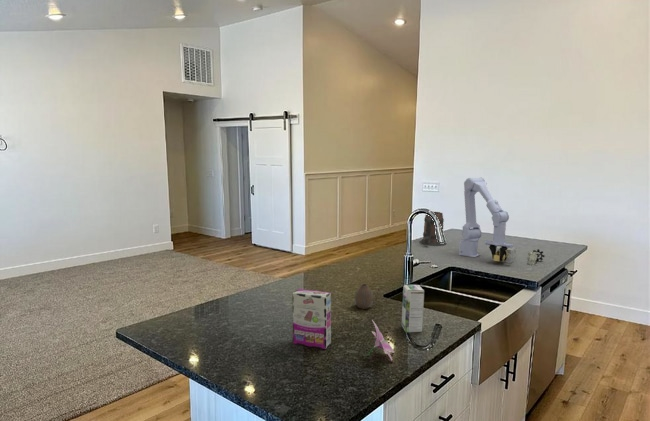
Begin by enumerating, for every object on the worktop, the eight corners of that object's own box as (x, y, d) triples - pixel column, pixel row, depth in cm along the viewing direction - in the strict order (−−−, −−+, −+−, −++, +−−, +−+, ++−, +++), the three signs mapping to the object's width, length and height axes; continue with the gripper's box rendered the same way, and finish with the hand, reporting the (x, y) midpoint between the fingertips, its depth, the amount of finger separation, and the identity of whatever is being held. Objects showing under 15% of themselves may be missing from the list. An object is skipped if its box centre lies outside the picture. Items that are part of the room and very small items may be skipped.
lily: (379, 375, 116) (398, 346, 115) (346, 348, 122) (363, 320, 121) (394, 370, 127) (410, 342, 126) (363, 345, 132) (378, 318, 132)
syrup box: (401, 325, 146) (402, 284, 144) (418, 325, 147) (419, 284, 145) (405, 332, 141) (406, 290, 139) (423, 332, 141) (424, 289, 139)
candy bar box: (331, 343, 133) (332, 292, 131) (326, 350, 129) (326, 297, 126) (298, 337, 137) (298, 287, 135) (292, 343, 133) (291, 292, 130)
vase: (367, 311, 159) (368, 288, 158) (351, 307, 163) (351, 285, 162) (375, 305, 165) (376, 283, 164) (359, 302, 169) (360, 280, 167)
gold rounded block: (490, 262, 226) (491, 252, 226) (498, 258, 235) (498, 248, 234) (501, 264, 223) (502, 253, 222) (508, 260, 231) (509, 249, 231)
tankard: (424, 239, 287) (425, 209, 284) (449, 242, 279) (451, 211, 276) (412, 246, 267) (413, 214, 264) (439, 249, 259) (440, 216, 256)
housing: (491, 260, 234) (492, 247, 233) (496, 257, 240) (497, 245, 239) (510, 263, 227) (511, 250, 226) (515, 260, 233) (516, 247, 232)
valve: (536, 266, 222) (544, 262, 231) (537, 253, 221) (545, 250, 230) (523, 264, 227) (531, 259, 235) (524, 251, 226) (532, 248, 234)
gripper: (482, 233, 226) (481, 258, 228) (511, 237, 216) (509, 263, 218) (487, 231, 231) (485, 256, 233) (515, 235, 222) (513, 261, 224)
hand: (497, 259), depth 226 cm, fingers closed on gold rounded block, 3 cm apart
